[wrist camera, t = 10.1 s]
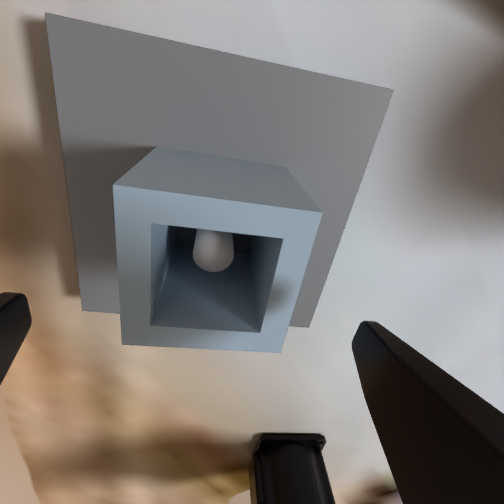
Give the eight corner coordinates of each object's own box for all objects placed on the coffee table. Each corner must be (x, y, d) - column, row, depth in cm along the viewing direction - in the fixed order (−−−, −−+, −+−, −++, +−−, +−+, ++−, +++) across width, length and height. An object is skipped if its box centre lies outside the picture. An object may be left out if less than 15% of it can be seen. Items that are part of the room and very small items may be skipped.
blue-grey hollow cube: (285, 167, 14) (322, 212, 9) (262, 271, 17) (280, 352, 12) (156, 146, 13) (113, 184, 8) (155, 260, 16) (121, 344, 11)
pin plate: (378, 89, 14) (457, 90, 9) (303, 312, 21) (327, 379, 16) (64, 20, 12) (-44, -26, 7) (92, 295, 18) (46, 367, 14)
